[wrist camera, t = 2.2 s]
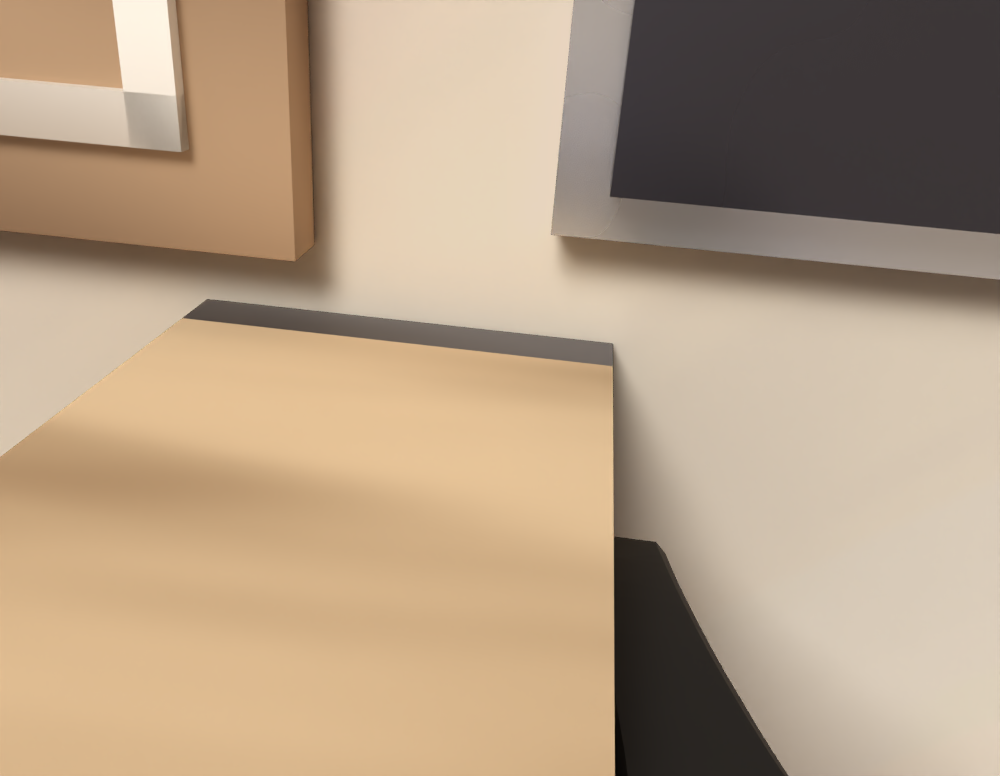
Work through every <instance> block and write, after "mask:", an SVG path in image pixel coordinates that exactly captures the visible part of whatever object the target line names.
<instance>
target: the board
mask: <svg viewBox="0 0 1000 776" xmlns="http://www.w3.org/2000/svg"><path fill="white" fill-rule="evenodd" d="M0 230H1V231H11V232H20V233H30V234H39V235H49V236H58V237H68V238H77V239H87V240H96V241H106V242H115V243H125V244H134V245H144V246H153V247H163V248H172V249H182V250H191V251H201V252H210V253H220V254H229V255H239V256H248V257H258V258H268V259H277V260H287V261H296V260H297V259H299V258H300V257H301V256H302V255H303V254H304V253H306V252H307V251H308V250H309V249H310V248H311V247H313V246H314V215H313V180H312V144H311V109H310V74H309V38H308V3H307V0H0Z"/></svg>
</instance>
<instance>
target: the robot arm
mask: <svg viewBox="0 0 1000 776" xmlns="http://www.w3.org/2000/svg"><path fill="white" fill-rule="evenodd" d="M614 696H615V776H788V774H787V773H786V771H785V770H784V768H783V767H782V765H781V764H780V762H779V761H778V759H777V758H776V756H775V754H774V753H773V751H772V750H771V748H770V747H769V745H768V743H767V742H766V740H765V739H764V737H763V735H762V734H761V732H760V731H759V729H758V727H757V726H756V724H755V722H754V721H753V719H752V717H751V716H750V714H749V712H748V711H747V709H746V707H745V706H744V704H743V702H742V700H741V699H740V697H739V695H738V694H737V692H736V690H735V689H734V687H733V685H732V684H731V682H730V680H729V678H728V677H727V675H726V673H725V672H724V670H723V668H722V666H721V665H720V663H719V661H718V659H717V657H716V656H715V654H714V652H713V650H712V648H711V647H710V645H709V643H708V641H707V639H706V637H705V635H704V633H703V632H702V630H701V628H700V626H699V624H698V622H697V620H696V618H695V616H694V614H693V612H692V610H691V608H690V606H689V604H688V602H687V600H686V598H685V596H684V594H683V592H682V590H681V588H680V586H679V584H678V582H677V579H676V577H675V575H674V573H673V571H672V568H671V566H670V564H669V561H668V559H667V557H666V554H665V553H664V552H663V550H662V549H661V548H660V547H659V545H658V544H657V543H656V542H651V541H643V540H635V539H628V538H620V537H614Z"/></svg>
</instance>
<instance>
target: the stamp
mask: <svg viewBox="0 0 1000 776" xmlns="http://www.w3.org/2000/svg"><path fill="white" fill-rule="evenodd" d="M0 776H615V696H614V504H613V344H611V343H602V342H593V341H584V340H575V339H566V338H557V337H548V336H538V335H529V334H520V333H511V332H502V331H493V330H484V329H475V328H465V327H456V326H447V325H438V324H429V323H420V322H411V321H402V320H392V319H383V318H374V317H365V316H356V315H347V314H338V313H329V312H319V311H310V310H301V309H292V308H283V307H274V306H265V305H256V304H246V303H237V302H228V301H219V300H210V299H207V300H206V301H204V302H203V303H202V304H200V305H199V306H198V307H196V308H195V309H194V310H192V311H191V312H190V313H188V314H187V315H186V316H185V317H183V318H182V319H181V320H179V321H178V322H177V323H175V324H174V325H173V326H171V327H170V328H169V329H168V330H166V331H165V332H164V333H162V334H161V335H160V336H158V337H157V338H156V339H154V340H153V341H152V342H150V343H149V344H148V345H147V346H145V347H144V348H143V349H141V350H140V351H139V352H137V353H136V354H135V355H133V356H132V357H131V358H130V359H128V360H127V361H126V362H124V363H123V364H122V365H120V366H119V367H118V368H116V369H115V370H114V371H112V372H111V373H110V374H109V375H107V376H106V377H105V378H103V379H102V380H101V381H99V382H98V383H97V384H95V385H94V386H93V387H91V388H90V389H89V390H88V391H86V392H85V393H84V394H82V395H81V396H80V397H78V398H77V399H76V400H74V401H73V402H72V403H71V404H69V405H68V406H67V407H65V408H64V409H63V410H61V411H60V412H59V413H57V414H56V415H55V416H53V417H52V418H51V419H50V420H48V421H47V422H46V423H44V424H43V425H42V426H40V427H39V428H38V429H36V430H35V431H34V432H32V433H31V434H30V435H29V436H27V437H26V438H25V439H23V440H22V441H21V442H19V443H18V444H17V445H15V446H14V447H13V448H12V449H10V450H9V451H8V452H6V453H5V454H4V455H2V456H1V457H0Z"/></svg>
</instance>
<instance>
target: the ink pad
mask: <svg viewBox="0 0 1000 776" xmlns="http://www.w3.org/2000/svg"><path fill="white" fill-rule="evenodd" d="M551 235H559V236H569V237H579V238H589V239H599V240H609V241H619V242H629V243H639V244H649V245H659V246H669V247H679V248H689V249H699V250H709V251H719V252H729V253H739V254H749V255H759V256H769V257H779V258H789V259H799V260H809V261H819V262H829V263H839V264H849V265H859V266H869V267H879V268H889V269H899V270H909V271H919V272H929V273H939V274H949V275H959V276H969V277H978V278H988V279H998V280H1000V0H574V5H573V15H572V25H571V35H570V46H569V56H568V66H567V76H566V87H565V97H564V107H563V117H562V127H561V138H560V148H559V158H558V168H557V178H556V189H555V199H554V209H553V219H552V229H551Z"/></svg>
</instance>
